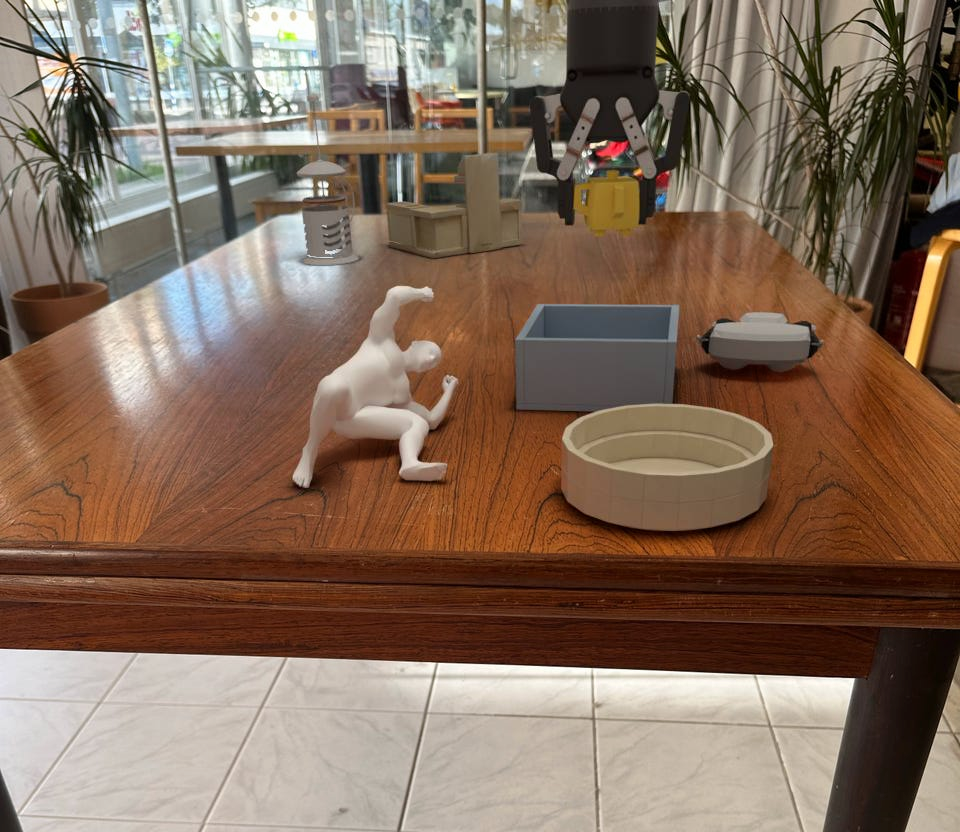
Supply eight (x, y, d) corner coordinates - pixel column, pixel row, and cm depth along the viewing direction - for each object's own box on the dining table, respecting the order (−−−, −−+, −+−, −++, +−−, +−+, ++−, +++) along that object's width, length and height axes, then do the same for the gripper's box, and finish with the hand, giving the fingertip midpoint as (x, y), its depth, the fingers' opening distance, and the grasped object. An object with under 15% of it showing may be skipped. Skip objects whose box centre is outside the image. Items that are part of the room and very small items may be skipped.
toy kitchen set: (473, 235, 180) (470, 146, 172) (524, 245, 168) (523, 150, 160) (388, 247, 172) (381, 154, 164) (435, 259, 159) (430, 159, 151)
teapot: (565, 227, 90) (566, 167, 87) (625, 224, 90) (628, 165, 88) (579, 241, 83) (580, 176, 81) (643, 238, 84) (647, 173, 81)
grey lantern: (290, 262, 161) (268, 94, 148) (334, 251, 170) (317, 91, 156) (333, 266, 157) (314, 93, 144) (377, 255, 165) (363, 90, 152)
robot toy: (705, 348, 109) (692, 375, 96) (709, 307, 107) (696, 329, 94) (816, 353, 106) (818, 382, 93) (823, 311, 104) (825, 334, 91)
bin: (674, 369, 99) (679, 304, 96) (671, 414, 87) (676, 341, 84) (537, 366, 102) (537, 303, 99) (516, 409, 90) (515, 339, 86)
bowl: (759, 460, 77) (766, 406, 74) (771, 541, 64) (780, 479, 62) (573, 453, 80) (574, 401, 77) (550, 529, 67) (550, 470, 64)
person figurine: (413, 354, 67) (425, 261, 81) (249, 396, 69) (287, 299, 83) (462, 502, 76) (466, 396, 89) (314, 535, 78) (339, 427, 91)
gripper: (701, 1, 79) (685, 217, 88) (532, 9, 82) (533, 218, 91) (702, -3, 73) (684, 230, 82) (519, 6, 76) (521, 231, 85)
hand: (605, 223), depth 86 cm, fingers closed on teapot, 6 cm apart
